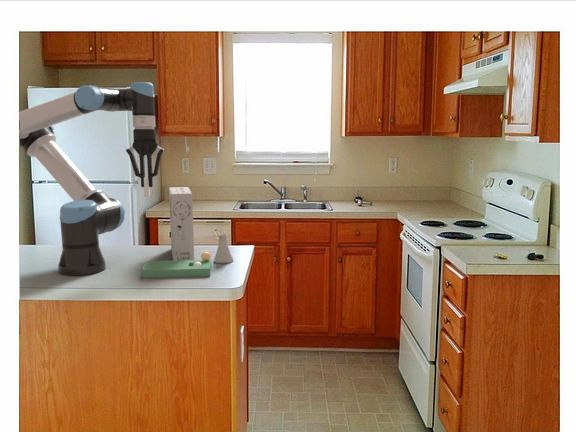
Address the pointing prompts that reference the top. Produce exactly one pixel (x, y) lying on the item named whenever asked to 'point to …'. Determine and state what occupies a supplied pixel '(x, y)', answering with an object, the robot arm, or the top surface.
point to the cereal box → (181, 223)
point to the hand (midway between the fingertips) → (147, 196)
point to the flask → (223, 251)
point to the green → (176, 268)
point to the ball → (197, 264)
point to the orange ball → (205, 256)
